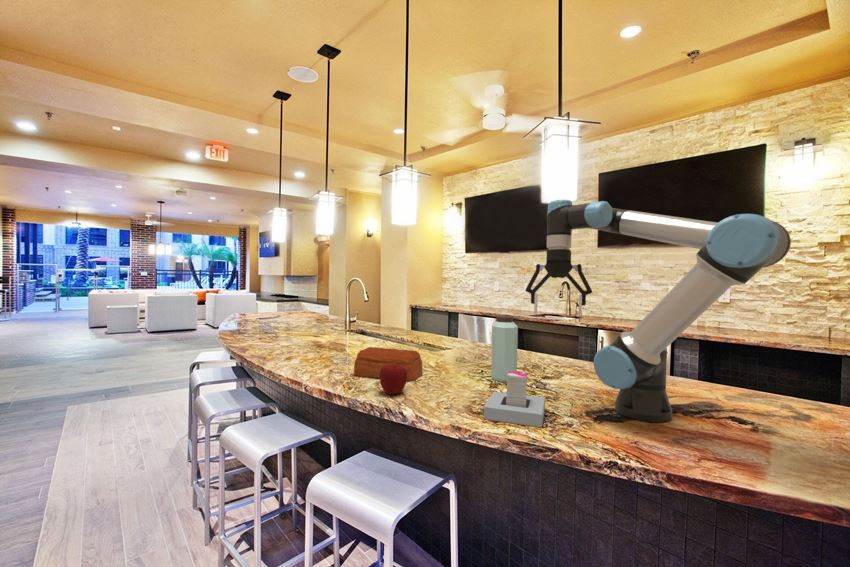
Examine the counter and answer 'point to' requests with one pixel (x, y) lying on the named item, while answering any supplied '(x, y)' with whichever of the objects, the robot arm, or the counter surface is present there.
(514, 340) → the water bottle
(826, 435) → the counter surface
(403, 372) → the apple
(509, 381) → the supplement box
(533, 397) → the socket block
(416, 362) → the bread
